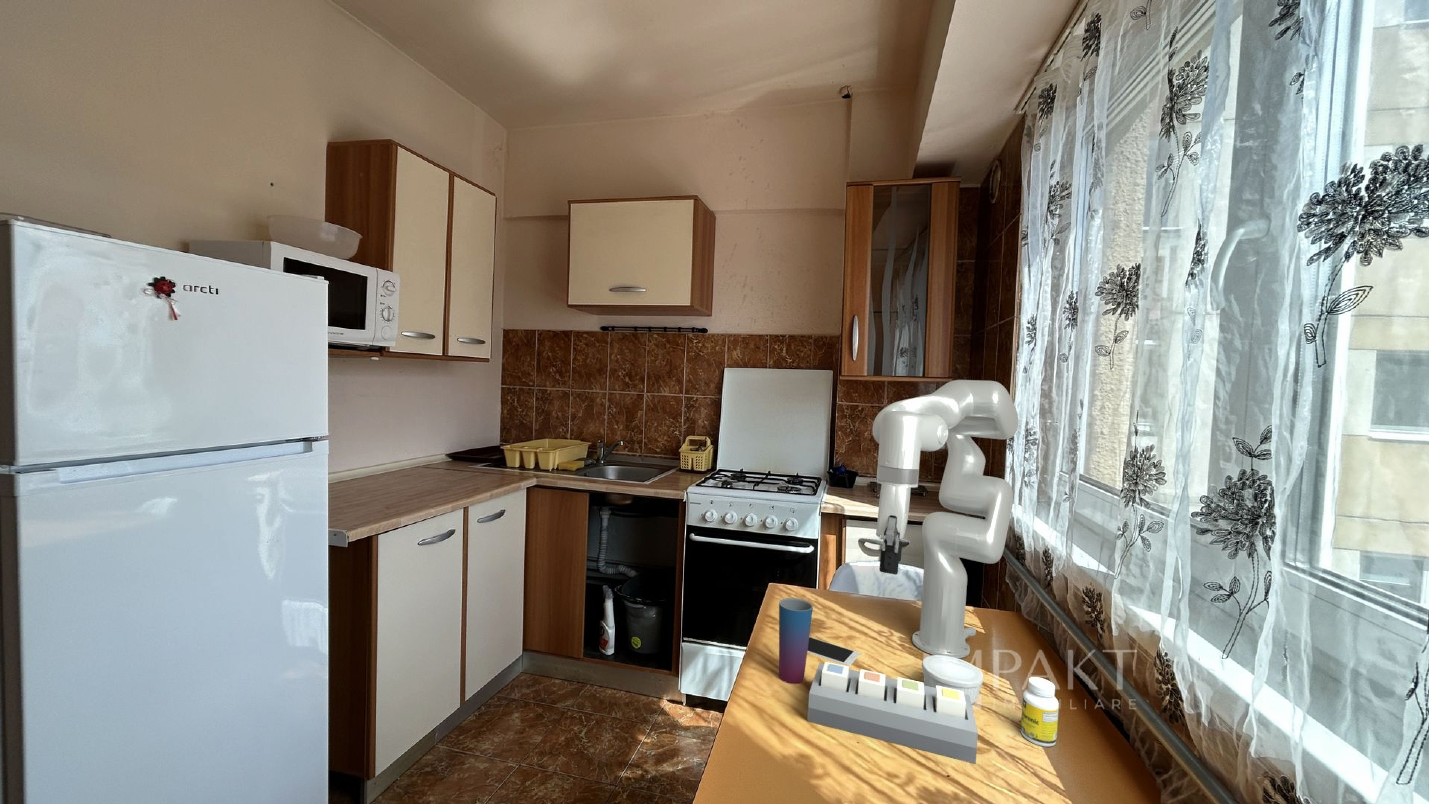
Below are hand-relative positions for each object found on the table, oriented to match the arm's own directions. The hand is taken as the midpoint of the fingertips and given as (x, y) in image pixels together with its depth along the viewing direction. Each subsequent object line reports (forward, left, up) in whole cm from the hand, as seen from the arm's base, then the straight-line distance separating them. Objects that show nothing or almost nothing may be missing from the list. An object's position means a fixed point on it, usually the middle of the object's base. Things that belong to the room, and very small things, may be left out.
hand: (890, 566), depth 105 cm
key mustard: (-3, +13, -21) cm, 25 cm away
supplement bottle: (-18, +19, -26) cm, 37 cm away
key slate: (+11, -1, -21) cm, 24 cm away
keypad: (+4, +6, -26) cm, 27 cm away
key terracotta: (+6, +4, -21) cm, 23 cm away
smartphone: (-2, -21, -26) cm, 34 cm away
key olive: (+2, +8, -21) cm, 23 cm away
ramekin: (-15, +3, -26) cm, 30 cm away
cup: (+12, -13, -26) cm, 31 cm away
